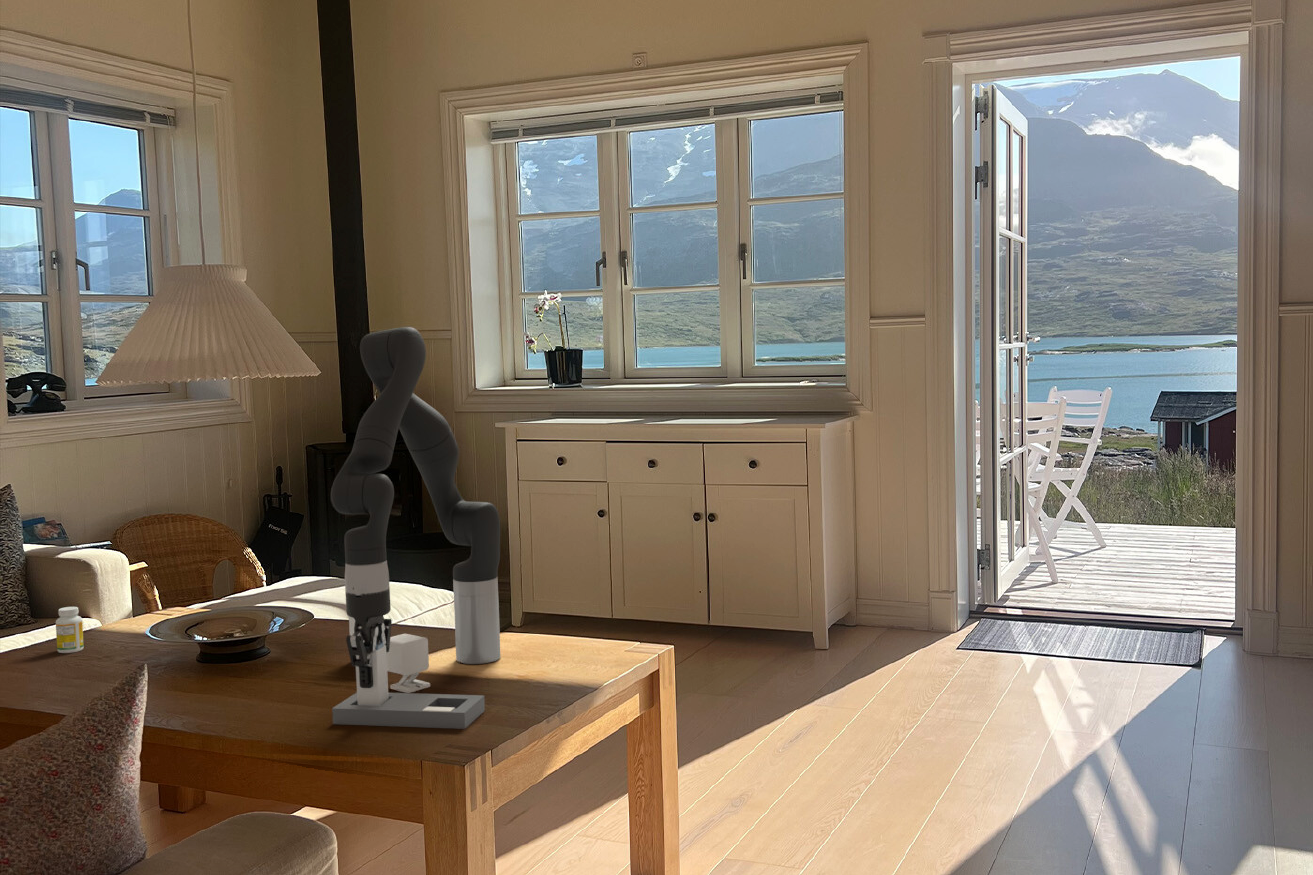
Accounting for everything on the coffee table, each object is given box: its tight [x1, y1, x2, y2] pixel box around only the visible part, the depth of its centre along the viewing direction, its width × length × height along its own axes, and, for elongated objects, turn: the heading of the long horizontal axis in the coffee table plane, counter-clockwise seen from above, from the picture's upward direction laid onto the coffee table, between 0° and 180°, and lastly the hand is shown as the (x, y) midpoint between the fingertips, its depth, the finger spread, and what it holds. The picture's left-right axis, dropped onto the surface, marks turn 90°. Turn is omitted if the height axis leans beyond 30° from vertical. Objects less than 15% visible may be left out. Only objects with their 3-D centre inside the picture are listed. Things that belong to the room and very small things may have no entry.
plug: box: [355, 643, 389, 706], centre depth 201 cm, size 4×4×11 cm
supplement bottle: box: [55, 606, 85, 654], centre depth 258 cm, size 5×5×10 cm
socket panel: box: [331, 692, 486, 730], centre depth 200 cm, size 10×24×4 cm, turn 79°
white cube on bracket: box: [386, 633, 431, 693], centre depth 219 cm, size 6×7×10 cm
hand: (372, 683), depth 202 cm, fingers closed on plug, 4 cm apart
